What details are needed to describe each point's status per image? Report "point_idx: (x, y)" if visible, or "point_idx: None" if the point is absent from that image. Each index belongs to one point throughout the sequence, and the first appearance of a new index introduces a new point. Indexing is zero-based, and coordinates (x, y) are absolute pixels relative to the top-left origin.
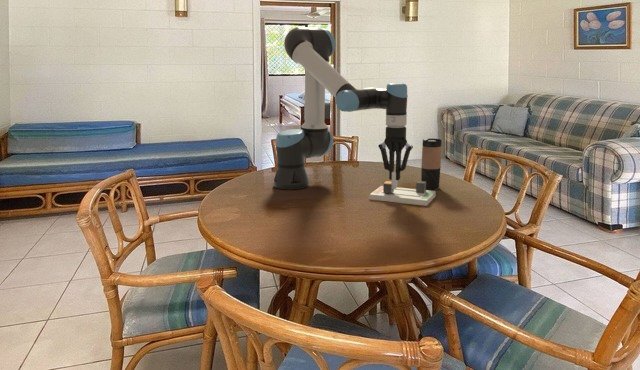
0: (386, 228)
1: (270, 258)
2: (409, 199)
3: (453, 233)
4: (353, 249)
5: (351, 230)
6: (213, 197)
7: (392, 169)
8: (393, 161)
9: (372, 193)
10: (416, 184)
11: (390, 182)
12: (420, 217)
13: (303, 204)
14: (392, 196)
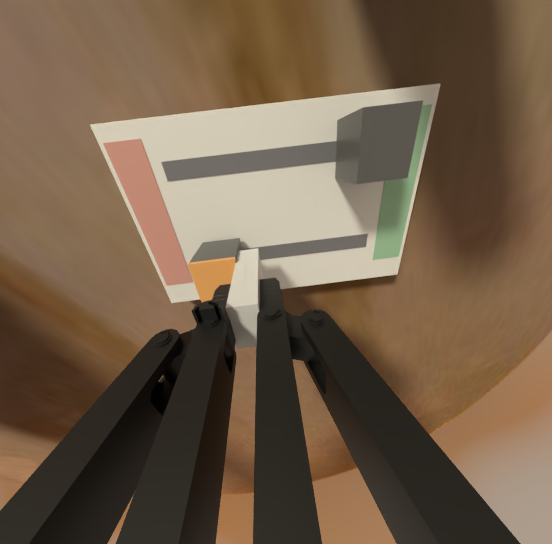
0: (327, 413)
1: (245, 493)
2: (330, 281)
3: (445, 385)
4: (312, 461)
5: None
6: None
7: (234, 355)
8: (217, 410)
9: (173, 290)
10: (353, 182)
11: (226, 281)
12: (378, 351)
13: (77, 399)
14: None
